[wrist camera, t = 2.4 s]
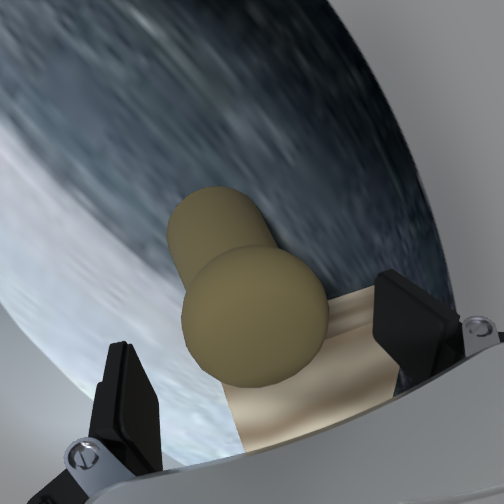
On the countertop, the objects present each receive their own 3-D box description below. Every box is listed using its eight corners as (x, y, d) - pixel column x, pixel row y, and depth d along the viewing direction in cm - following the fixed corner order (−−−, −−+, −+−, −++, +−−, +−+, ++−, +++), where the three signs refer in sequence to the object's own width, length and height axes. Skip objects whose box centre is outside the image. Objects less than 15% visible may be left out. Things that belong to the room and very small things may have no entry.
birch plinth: (208, 334, 22) (217, 371, 18) (380, 283, 24) (409, 307, 21) (241, 438, 28) (251, 470, 24) (368, 393, 30) (386, 418, 26)
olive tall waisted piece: (282, 225, 20) (385, 318, 10) (223, 296, 21) (273, 427, 11) (209, 165, 18) (264, 214, 8) (146, 246, 19) (134, 373, 9)
